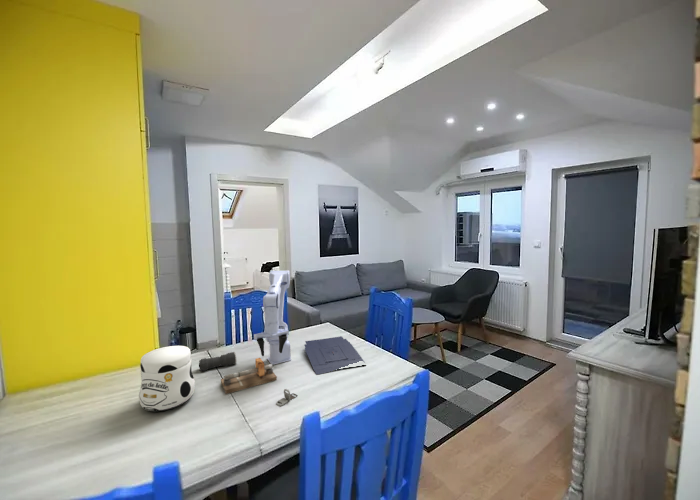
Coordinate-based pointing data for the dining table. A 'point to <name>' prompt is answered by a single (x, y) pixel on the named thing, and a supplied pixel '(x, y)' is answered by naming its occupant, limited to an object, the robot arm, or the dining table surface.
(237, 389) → the pipe stand
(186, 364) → the milk container
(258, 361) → the collar
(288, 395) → the strap clip
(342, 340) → the grey flat slab
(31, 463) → the dining table surface
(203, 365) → the flashlight
